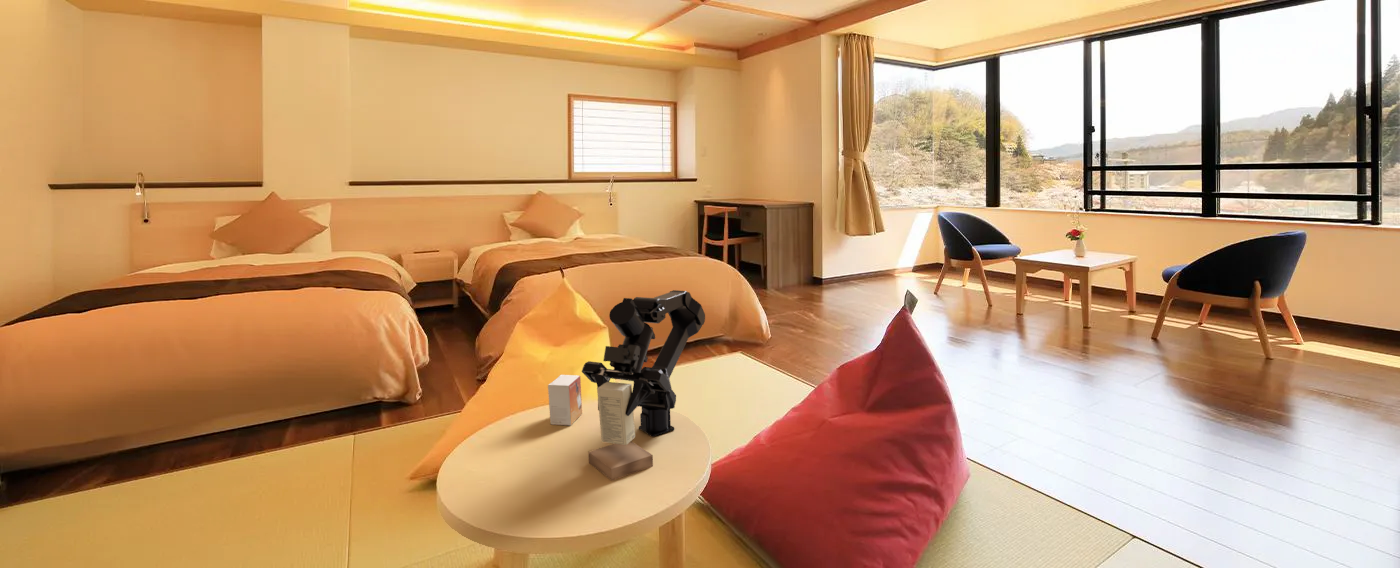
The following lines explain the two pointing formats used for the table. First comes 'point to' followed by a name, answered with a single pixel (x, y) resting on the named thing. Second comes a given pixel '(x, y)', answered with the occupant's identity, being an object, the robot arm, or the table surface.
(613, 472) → the walnut block
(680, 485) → the table surface
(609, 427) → the skincare box
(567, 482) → the table surface
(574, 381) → the small box
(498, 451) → the table surface
